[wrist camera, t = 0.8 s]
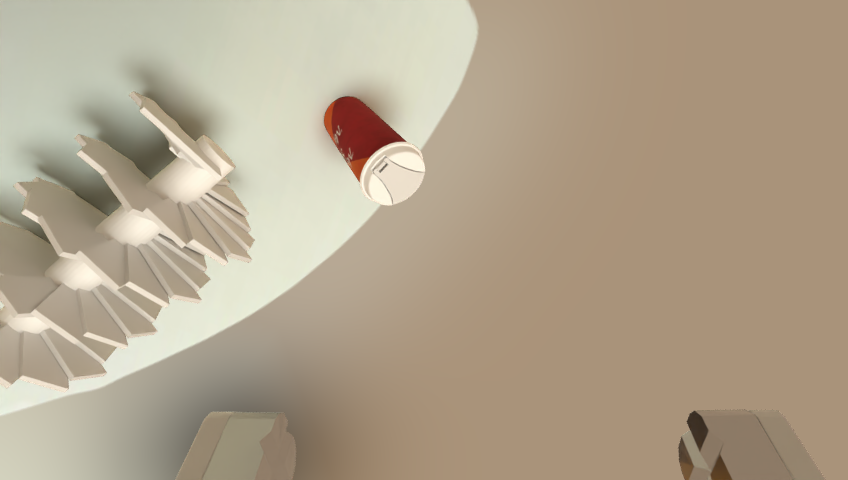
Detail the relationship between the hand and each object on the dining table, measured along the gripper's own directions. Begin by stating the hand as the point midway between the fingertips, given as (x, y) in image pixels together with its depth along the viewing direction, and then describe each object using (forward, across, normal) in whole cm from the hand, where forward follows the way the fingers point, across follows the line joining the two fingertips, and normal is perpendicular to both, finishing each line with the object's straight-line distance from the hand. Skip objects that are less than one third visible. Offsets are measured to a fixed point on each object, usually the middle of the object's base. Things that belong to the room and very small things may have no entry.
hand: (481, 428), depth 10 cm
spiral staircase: (+39, +37, +14) cm, 55 cm away
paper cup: (+53, +14, +12) cm, 56 cm away
